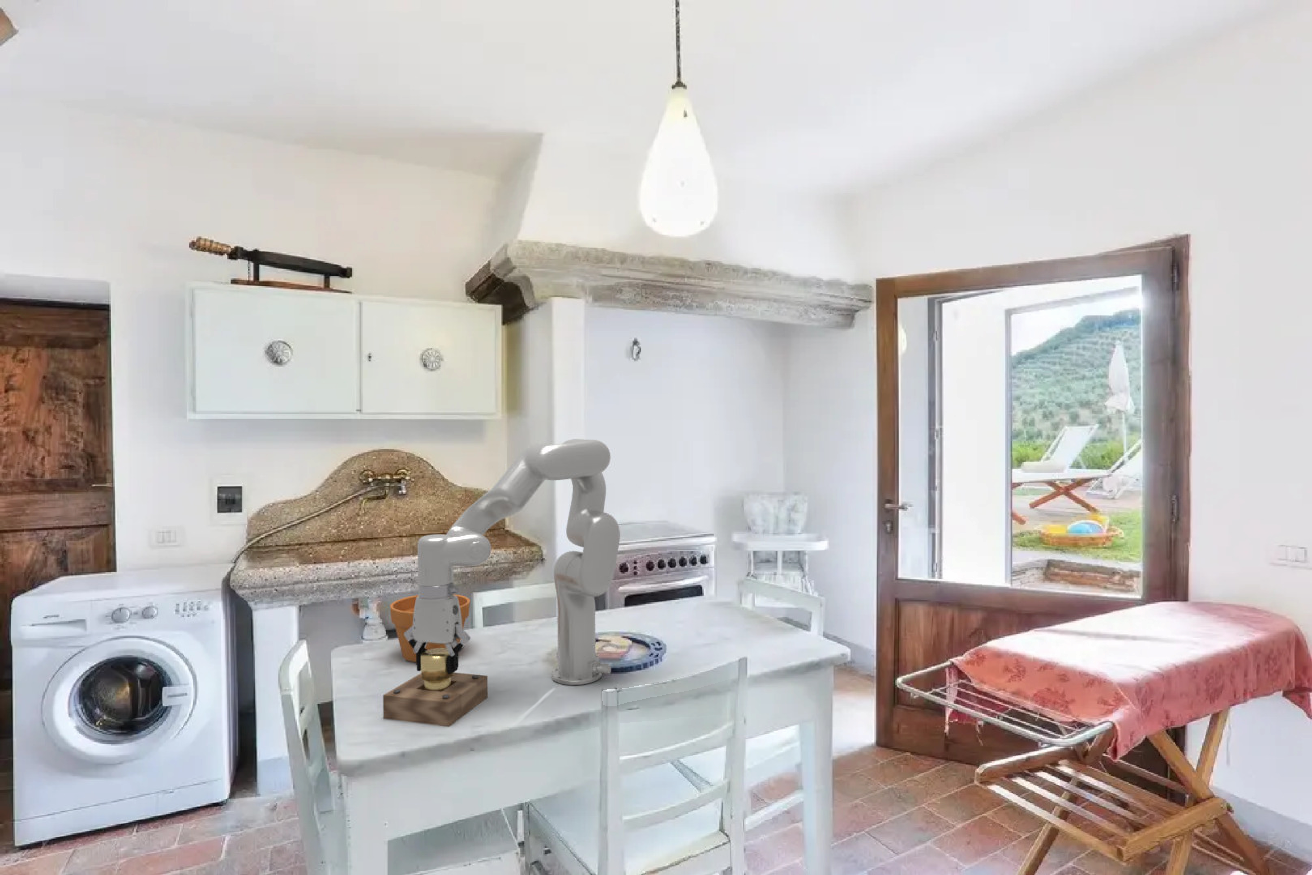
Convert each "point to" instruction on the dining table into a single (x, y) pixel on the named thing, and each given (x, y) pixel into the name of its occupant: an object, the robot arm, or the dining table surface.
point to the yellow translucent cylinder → (435, 669)
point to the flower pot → (404, 620)
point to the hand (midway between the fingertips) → (437, 669)
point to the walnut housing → (435, 700)
